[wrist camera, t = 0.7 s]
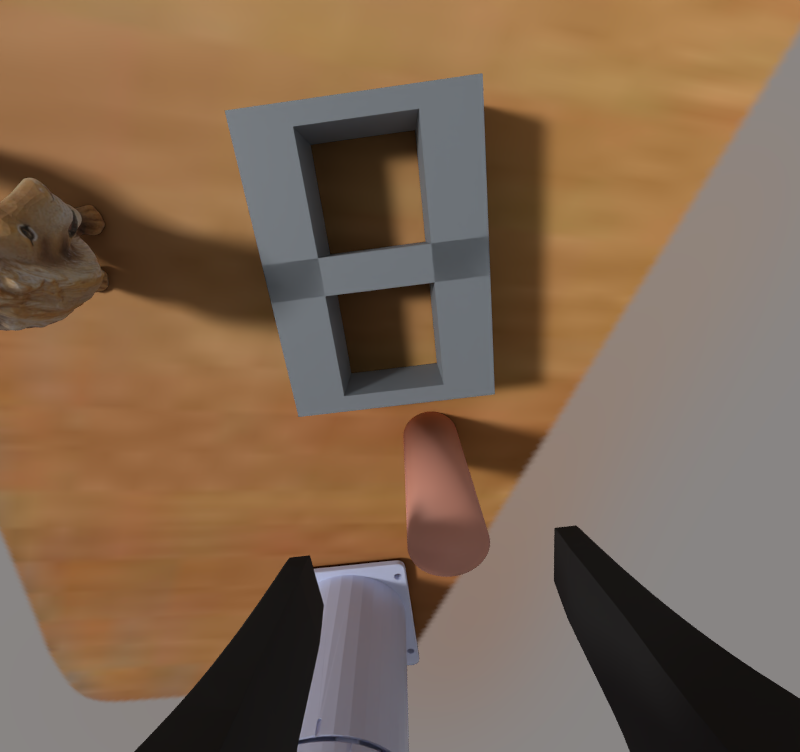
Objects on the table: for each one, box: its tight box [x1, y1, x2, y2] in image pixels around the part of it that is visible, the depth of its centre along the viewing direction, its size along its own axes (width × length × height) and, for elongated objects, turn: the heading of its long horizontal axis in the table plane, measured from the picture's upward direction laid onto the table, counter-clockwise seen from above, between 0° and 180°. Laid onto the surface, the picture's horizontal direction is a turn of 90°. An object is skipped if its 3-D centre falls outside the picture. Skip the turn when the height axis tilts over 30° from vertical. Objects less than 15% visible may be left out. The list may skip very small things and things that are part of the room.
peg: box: [404, 412, 490, 576], centre depth 18 cm, size 3×3×8 cm
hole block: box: [225, 74, 495, 417], centre depth 17 cm, size 12×9×3 cm
